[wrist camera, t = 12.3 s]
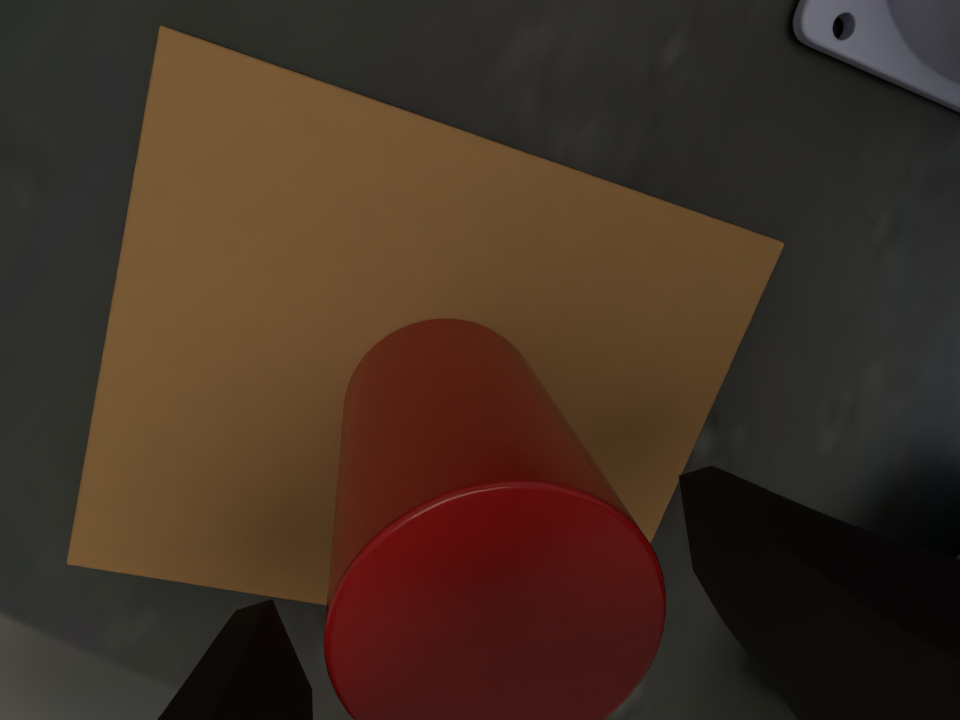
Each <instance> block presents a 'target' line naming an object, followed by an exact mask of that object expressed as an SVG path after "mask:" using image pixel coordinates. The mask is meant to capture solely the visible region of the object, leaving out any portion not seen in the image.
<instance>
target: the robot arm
mask: <svg viewBox="0 0 960 720" xmlns="http://www.w3.org/2000/svg"><path fill="white" fill-rule="evenodd" d="M837 16H838V17H839V18H840V19H841V20H842V23H843V30H842V34H841V35H840V37H839V38H838V39H837V38H836V37H835V36H834V34H833V30H832V28H833V23H834V21H835V19H836V18H837ZM793 30H794V33H795V35H796V37H797V39H798V40H799V41H800V42H802V43H803V44H804V45H807V46H809V47H811V48H814V49H816V50H818V51H820V52H823V53H825V54H827V55H830V56H832V57H834V58H836V59H839V60H841V61H843V62H845V63H848V64H850V65H852V66H855V67H857V68H859V69H861V70H864V71H866V72H868V73H870V74H873V75H875V76H877V77H880V78H882V79H884V80H886V81H889V82H891V83H893V84H895V85H898V86H900V87H902V88H905V89H907V90H909V91H911V92H914V93H916V94H918V95H921V96H923V97H925V98H927V99H930V100H932V101H934V102H936V103H939V104H941V105H943V106H946V107H948V108H950V109H952V110H955V111H957V112H959V113H960V0H800V1H799V3H798V6H797V8H796V11H795V14H794V18H793ZM679 482H680V488H681V495H682V501H683V508H684V514H685V521H686V527H687V534H688V540H689V547H690V553H691V560H692V566H693V571H694V572H695V574H696V576H697V578H698V579H699V581H700V583H701V585H702V586H703V588H704V590H705V592H706V593H707V595H708V597H709V599H710V600H711V602H712V604H713V605H714V607H715V609H716V610H717V612H718V614H719V615H720V617H721V619H722V620H723V621H724V623H725V624H726V626H727V627H728V628H729V630H730V631H731V632H732V634H733V635H734V636H735V638H736V639H737V640H738V641H739V643H740V644H741V645H742V647H743V648H744V649H745V651H746V652H747V653H748V655H749V656H750V657H751V659H752V660H753V661H754V663H755V664H756V665H757V666H758V668H759V669H760V670H761V672H762V673H763V674H764V676H765V677H766V678H767V679H768V681H769V682H770V683H771V685H772V686H773V687H774V689H775V690H776V691H777V692H778V694H779V695H780V696H781V698H782V699H783V700H784V702H785V703H786V704H787V705H788V707H789V708H790V709H791V711H792V712H793V713H794V715H795V716H796V717H797V718H798V720H960V559H957V558H953V557H950V556H946V555H943V554H939V553H936V552H932V551H929V550H926V549H922V548H919V547H915V546H912V545H909V544H906V543H902V542H899V541H896V540H893V539H890V538H887V537H884V536H882V535H879V534H876V533H873V532H871V531H868V530H865V529H862V528H859V527H857V526H854V525H851V524H848V523H846V522H843V521H841V520H838V519H836V518H833V517H830V516H828V515H825V514H823V513H820V512H818V511H815V510H813V509H811V508H808V507H806V506H804V505H801V504H799V503H796V502H794V501H792V500H789V499H787V498H785V497H783V496H780V495H778V494H776V493H773V492H771V491H769V490H767V489H764V488H762V487H760V486H758V485H755V484H753V483H751V482H749V481H747V480H744V479H742V478H740V477H738V476H735V475H733V474H731V473H728V472H726V471H724V470H721V469H719V468H716V467H714V466H709V467H705V468H702V469H699V470H696V471H692V472H689V473H686V474H682V475H679ZM158 720H313V711H312V688H311V686H310V684H309V682H308V679H307V677H306V675H305V673H304V670H303V668H302V666H301V664H300V661H299V659H298V657H297V655H296V652H295V650H294V648H293V646H292V643H291V641H290V639H289V636H288V634H287V632H286V630H285V627H284V625H283V623H282V621H281V618H280V616H279V614H278V612H277V609H276V607H275V605H274V603H273V600H272V599H271V600H268V601H265V602H262V603H258V604H255V605H252V606H248V607H245V608H242V609H239V610H236V611H235V613H234V614H233V615H232V616H231V618H230V619H229V620H228V622H227V623H226V624H225V626H224V627H223V629H222V630H221V631H220V633H219V634H218V636H217V637H216V638H215V640H214V641H213V643H212V644H211V646H210V647H209V648H208V650H207V651H206V653H205V654H204V656H203V657H202V659H201V660H200V661H199V663H198V664H197V666H196V667H195V669H194V670H193V671H192V673H191V674H190V676H189V677H188V678H187V680H186V681H185V682H184V684H183V685H182V687H181V688H180V689H179V691H178V692H177V694H176V695H175V696H174V698H173V699H172V701H171V702H170V703H169V705H168V706H167V708H166V709H165V710H164V712H163V713H162V714H161V716H160V717H159V718H158Z"/></svg>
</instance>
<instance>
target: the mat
mask: <svg viewBox="0 0 960 720" xmlns="http://www.w3.org/2000/svg"><path fill="white" fill-rule="evenodd" d="M783 247H784V242H781V241H779V240H776V239H773V238H770V237H767V236H764V235H761V234H759V233H756V232H753V231H750V230H747V229H744V228H741V227H738V226H736V225H733V224H730V223H727V222H724V221H721V220H718V219H716V218H713V217H710V216H707V215H704V214H701V213H698V212H695V211H693V210H690V209H687V208H684V207H681V206H678V205H675V204H672V203H670V202H667V201H664V200H661V199H658V198H655V197H652V196H650V195H647V194H644V193H641V192H638V191H635V190H632V189H629V188H627V187H624V186H621V185H618V184H615V183H612V182H609V181H607V180H604V179H601V178H598V177H595V176H592V175H589V174H586V173H584V172H581V171H578V170H575V169H572V168H569V167H566V166H563V165H561V164H558V163H555V162H552V161H549V160H546V159H543V158H541V157H538V156H535V155H532V154H529V153H526V152H523V151H520V150H518V149H515V148H512V147H509V146H506V145H503V144H500V143H498V142H495V141H492V140H489V139H486V138H483V137H480V136H477V135H475V134H472V133H469V132H466V131H463V130H460V129H457V128H454V127H452V126H449V125H446V124H443V123H440V122H437V121H434V120H432V119H429V118H426V117H423V116H420V115H417V114H414V113H411V112H409V111H406V110H403V109H400V108H397V107H394V106H391V105H388V104H386V103H383V102H380V101H377V100H374V99H371V98H368V97H366V96H363V95H360V94H357V93H354V92H351V91H348V90H345V89H343V88H340V87H337V86H334V85H331V84H328V83H325V82H323V81H320V80H317V79H314V78H311V77H308V76H305V75H302V74H300V73H297V72H294V71H291V70H288V69H285V68H282V67H279V66H277V65H274V64H271V63H268V62H265V61H262V60H259V59H257V58H254V57H251V56H248V55H245V54H242V53H239V52H236V51H234V50H231V49H228V48H225V47H222V46H219V45H216V44H214V43H211V42H208V41H205V40H202V39H199V38H196V37H193V36H191V35H188V34H185V33H182V32H179V31H176V30H173V29H170V28H168V27H165V26H160V27H159V32H158V38H157V44H156V50H155V55H154V61H153V67H152V73H151V78H150V84H149V90H148V96H147V102H146V107H145V113H144V119H143V125H142V130H141V136H140V142H139V148H138V154H137V159H136V165H135V171H134V177H133V182H132V188H131V194H130V200H129V206H128V211H127V217H126V223H125V229H124V234H123V240H122V246H121V252H120V257H119V263H118V269H117V275H116V281H115V286H114V292H113V298H112V304H111V309H110V315H109V321H108V327H107V333H106V338H105V344H104V350H103V356H102V361H101V367H100V373H99V379H98V385H97V390H96V396H95V402H94V408H93V413H92V419H91V425H90V431H89V437H88V442H87V448H86V454H85V460H84V465H83V471H82V477H81V483H80V489H79V494H78V500H77V506H76V512H75V517H74V523H73V529H72V535H71V541H70V546H69V552H68V558H67V564H68V565H74V566H81V567H87V568H93V569H100V570H106V571H112V572H119V573H125V574H131V575H138V576H144V577H150V578H157V579H163V580H169V581H176V582H182V583H189V584H195V585H201V586H208V587H214V588H220V589H227V590H233V591H239V592H246V593H252V594H258V595H265V596H271V597H277V598H284V599H290V600H296V601H303V602H309V603H315V604H322V605H327V594H328V582H329V570H330V558H331V547H332V535H333V523H334V511H335V500H336V488H337V476H338V464H339V453H340V441H341V429H342V417H343V407H344V398H345V394H346V390H347V386H348V384H349V381H350V379H351V377H352V374H353V373H354V371H355V369H356V368H357V366H358V364H359V363H360V361H361V360H362V359H363V358H364V356H365V355H366V354H367V353H368V352H369V351H370V350H371V349H372V348H373V347H374V346H375V345H376V344H377V343H378V342H380V341H381V340H382V339H384V338H385V337H386V336H388V335H390V334H392V333H393V332H395V331H397V330H399V329H401V328H403V327H406V326H408V325H411V324H414V323H418V322H421V321H426V320H433V319H458V320H465V321H469V322H473V323H477V324H480V325H482V326H485V327H487V328H490V329H491V330H493V331H495V332H497V333H499V334H500V335H501V336H503V337H504V338H505V339H507V340H508V341H509V342H510V343H512V344H513V345H514V346H515V347H516V348H517V349H518V351H519V352H520V353H521V355H522V356H523V357H524V359H525V360H526V361H527V363H528V364H529V366H530V367H531V369H532V370H533V372H534V373H535V375H536V376H537V378H538V379H539V380H540V382H541V383H542V385H543V386H544V388H545V389H546V391H547V392H548V394H549V395H550V397H551V398H552V400H553V401H554V403H555V404H556V405H557V407H558V408H559V410H560V411H561V413H562V414H563V416H564V417H565V419H566V420H567V422H568V423H569V425H570V426H571V428H572V429H573V431H574V432H575V433H576V435H577V436H578V438H579V439H580V441H581V442H582V444H583V445H584V447H585V448H586V450H587V451H588V453H589V454H590V456H591V457H592V458H593V460H594V461H595V463H596V464H597V466H598V467H599V469H600V470H601V472H602V473H603V475H604V476H605V478H606V479H607V481H608V482H609V484H610V485H611V486H612V488H613V489H614V491H615V492H616V494H617V495H618V497H619V498H620V500H621V501H622V503H623V504H624V506H625V507H626V509H627V510H628V511H629V513H630V514H631V516H632V517H633V519H634V520H635V522H636V523H637V525H638V526H639V528H640V529H641V531H642V532H643V534H644V535H645V537H646V538H647V539H648V541H649V543H650V544H651V542H652V539H653V537H654V535H655V533H656V530H657V528H658V526H659V524H660V521H661V519H662V517H663V515H664V513H665V510H666V508H667V506H668V504H669V501H670V499H671V497H672V495H673V492H674V490H675V488H676V486H677V483H678V481H679V475H682V472H683V470H684V468H685V466H686V463H687V461H688V459H689V457H690V454H691V452H692V450H693V448H694V445H695V443H696V441H697V439H698V437H699V434H700V432H701V430H702V428H703V425H704V423H705V421H706V419H707V416H708V414H709V412H710V410H711V407H712V405H713V403H714V401H715V399H716V396H717V394H718V392H719V390H720V387H721V385H722V383H723V381H724V378H725V376H726V374H727V372H728V369H729V367H730V365H731V363H732V361H733V358H734V356H735V354H736V352H737V349H738V347H739V345H740V343H741V340H742V338H743V336H744V334H745V331H746V329H747V327H748V325H749V323H750V320H751V318H752V316H753V314H754V311H755V309H756V307H757V305H758V302H759V300H760V298H761V296H762V294H763V291H764V289H765V287H766V285H767V282H768V280H769V278H770V276H771V273H772V271H773V269H774V267H775V264H776V262H777V260H778V258H779V256H780V253H781V251H782V249H783Z"/></svg>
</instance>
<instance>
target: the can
mask: <svg viewBox="0 0 960 720" xmlns="http://www.w3.org/2000/svg"><path fill="white" fill-rule="evenodd" d="M665 615H666V591H665V585H664V579H663V573H662V570H661V567H660V564H659V562H658V559H657V556H656V554H655V552H654V550H653V549H652V547H651V545H650V543H649V541H648V539H647V538H646V537H645V535H644V534H643V532H642V531H641V529H640V528H639V526H638V525H637V523H636V522H635V520H634V519H633V517H632V516H631V514H630V513H629V511H628V510H627V509H626V507H625V506H624V504H623V503H622V501H621V500H620V498H619V497H618V495H617V494H616V492H615V491H614V489H613V488H612V486H611V485H610V484H609V482H608V481H607V479H606V478H605V476H604V475H603V473H602V472H601V470H600V469H599V467H598V466H597V464H596V463H595V461H594V460H593V458H592V457H591V456H590V454H589V453H588V451H587V450H586V448H585V447H584V445H583V444H582V442H581V441H580V439H579V438H578V436H577V435H576V433H575V432H574V431H573V429H572V428H571V426H570V425H569V423H568V422H567V420H566V419H565V417H564V416H563V414H562V413H561V411H560V410H559V408H558V407H557V405H556V404H555V403H554V401H553V400H552V398H551V397H550V395H549V394H548V392H547V391H546V389H545V388H544V386H543V385H542V383H541V382H540V380H539V379H538V378H537V376H536V375H535V373H534V372H533V370H532V369H531V367H530V366H529V364H528V363H527V361H526V360H525V359H524V357H523V356H522V355H521V353H520V352H519V351H518V349H517V348H516V347H515V346H514V345H513V344H512V343H510V342H509V341H508V340H507V339H505V338H504V337H503V336H501V335H500V334H499V333H497V332H495V331H493V330H491V329H490V328H487V327H485V326H482V325H480V324H477V323H473V322H469V321H465V320H458V319H433V320H426V321H421V322H418V323H414V324H411V325H408V326H406V327H403V328H401V329H399V330H397V331H395V332H393V333H392V334H390V335H388V336H386V337H385V338H384V339H382V340H381V341H380V342H378V343H377V344H376V345H375V346H374V347H373V348H372V349H371V350H370V351H369V352H368V353H367V354H366V355H365V356H364V358H363V359H362V360H361V361H360V363H359V364H358V366H357V368H356V369H355V371H354V373H353V374H352V377H351V379H350V381H349V384H348V386H347V390H346V394H345V398H344V407H343V417H342V429H341V441H340V453H339V464H338V476H337V488H336V500H335V511H334V523H333V535H332V547H331V558H330V570H329V582H328V594H327V605H326V617H325V629H324V654H325V662H326V666H327V670H328V675H329V678H330V680H331V683H332V685H333V687H334V690H335V692H336V694H337V696H338V698H339V699H340V701H341V703H342V704H343V706H344V707H345V709H346V711H347V712H348V713H349V715H350V716H351V717H352V718H353V719H354V720H605V719H606V718H607V717H608V716H610V715H611V714H612V713H613V712H614V711H616V710H617V708H618V707H619V706H620V705H621V704H622V703H623V702H624V701H625V700H626V699H627V698H628V697H629V696H630V695H631V693H632V692H633V691H634V689H635V688H636V687H637V686H638V684H639V683H640V682H641V680H642V678H643V677H644V675H645V673H646V672H647V670H648V668H649V667H650V665H651V663H652V661H653V658H654V656H655V654H656V652H657V649H658V647H659V643H660V640H661V636H662V633H663V629H664V622H665Z"/></svg>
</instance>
